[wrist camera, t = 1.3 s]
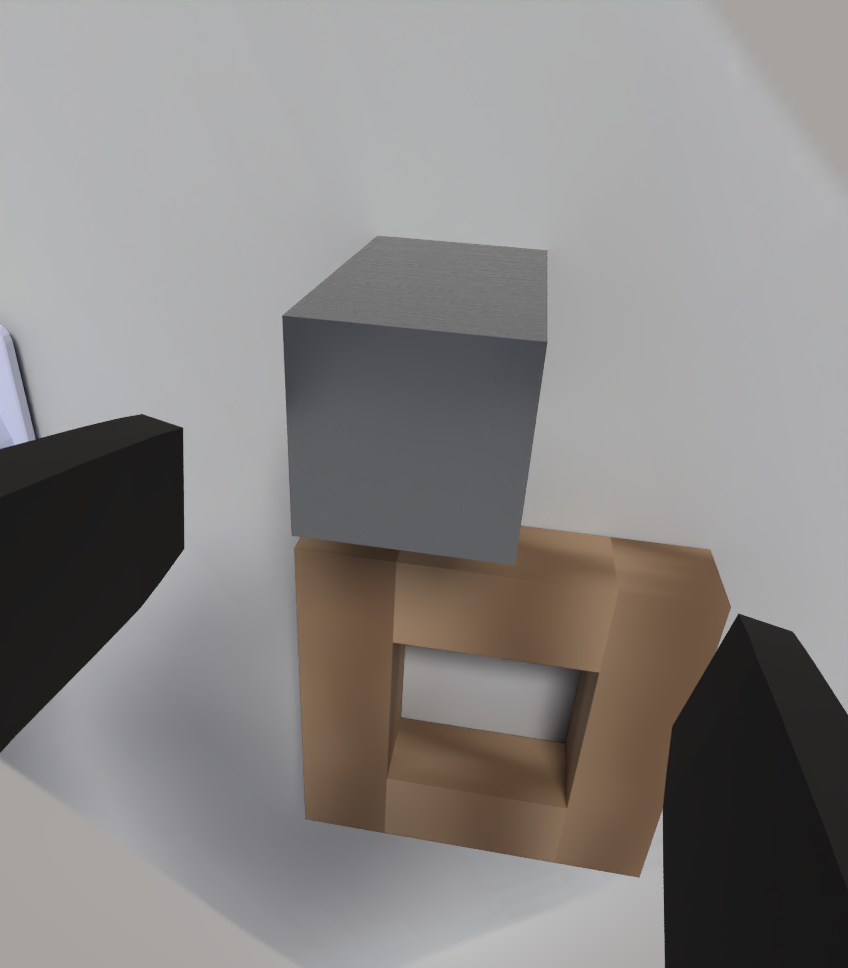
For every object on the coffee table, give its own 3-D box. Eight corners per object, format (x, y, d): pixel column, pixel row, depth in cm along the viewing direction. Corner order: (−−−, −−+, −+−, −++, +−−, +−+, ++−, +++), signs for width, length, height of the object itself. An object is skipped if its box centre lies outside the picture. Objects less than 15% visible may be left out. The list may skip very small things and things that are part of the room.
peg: (374, 393, 19) (292, 535, 13) (378, 235, 17) (282, 315, 11) (525, 409, 18) (515, 565, 12) (547, 250, 16) (547, 342, 10)
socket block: (325, 758, 26) (305, 819, 24) (320, 500, 21) (294, 548, 18) (630, 809, 25) (639, 877, 23) (710, 549, 19) (730, 606, 17)
